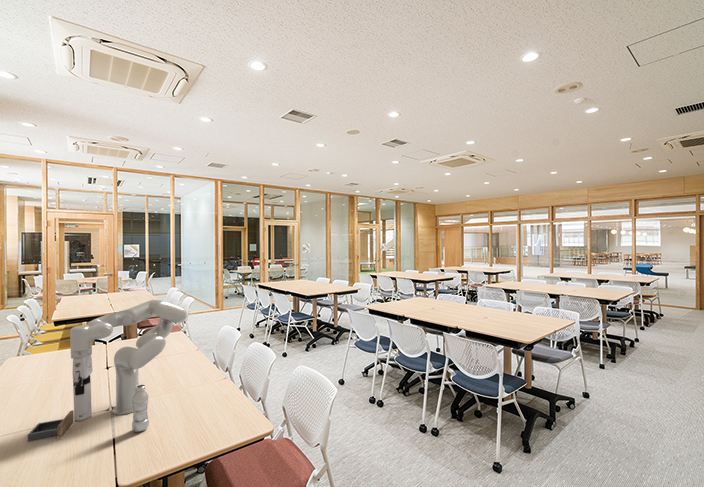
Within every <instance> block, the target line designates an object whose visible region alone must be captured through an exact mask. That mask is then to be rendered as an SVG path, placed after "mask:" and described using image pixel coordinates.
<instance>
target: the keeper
mask: <svg viewBox="0 0 704 487" xmlns="http://www.w3.org/2000/svg"><path fill="white" fill-rule="evenodd" d="M63 419H64V418H60V419H56V420H50V421H45V422H39V423H37V424H36V425H35V426H34V427H33V429H31V431H29V432H28V434H27V443H31V442H34V441H40V440H45V439H46V440H47V439H51V438H56V437H57V438H58V425H59V424H60V423H61V421H62V420H63Z"/></svg>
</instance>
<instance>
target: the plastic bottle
mask: <svg viewBox="0 0 704 487" xmlns="http://www.w3.org/2000/svg"><path fill="white" fill-rule="evenodd" d="M135 392H136V393H135V394H134V396H133V397H132V406H133V412H132V413H133V415H132V423H131V429H132V431H133V432H134V433H140V432H144V431H145V430H147V429H148V428H149V425H150V419H149V415H148V403H149V394H148V392H146V385H145V384H138V386H136V388H135Z"/></svg>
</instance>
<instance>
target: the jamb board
mask: <svg viewBox="0 0 704 487" xmlns="http://www.w3.org/2000/svg"><path fill="white" fill-rule="evenodd" d="M62 419H63V420H62V421H61V423H60V424H59V425H58V437H57V441H59V440H62V439H63V437H64V436H65V435H66V434H67V433H68V431H69V429H71V427H72V426H73V425H74V422H75V421H74V409H73V410H70V411H69V412H67V414H66V415H65V416H64V418H62Z"/></svg>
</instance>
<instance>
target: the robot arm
mask: <svg viewBox="0 0 704 487" xmlns="http://www.w3.org/2000/svg"><path fill="white" fill-rule="evenodd" d="M154 316H155V317H159V320H158V323H157V324H156V325H155V326H154V327H152V328H151V329H149V330H148V331H147V332H146V333H144V334H142V335H141V336H140V337H138V338H137V340H136V343H135V347H132V346H123V347H121V348H119V349H117V351H116V352H115V354H114V356H113V363H114V369H115V406H114V407H113V408H112V410H111V411H112V414H113V415H116V416H121V415H122V416H123V415H127V414H132V413H133V406H132V397H133V396H134V394H135V393H136V392H135V388H136V386H138V385H139V369H142V368H143V367H145V366H146V365H147V364H149V363H150V362H151V361H152V360H153V359H155V358H156V357H157V356H159V354H161V353H162V352H163V350H164V349H165V347H166V343H167V342H166V338H167V337H168V336H169V335H170V334H171V332H172V329H173V325H174V323H175V324H181V323H182V322H185V320H186V319H187V316H188V313H187V311H186V309H185V308H183V307H181V306H178V305H176V304H173V303H170V302H167V301H166V300H159V299H151V300H148V301H147V300H146V301H145V302H143V303H140V304H138V305H135V306H133V307H130V308H127V309H122V310H120V311H115V312H111V313H108V314H105V315H102V316H99V317H97V318H94V319H92V320H90V321H89V322H87V324H81V325H76V326H73V327H71V328H70V331H69V337H70V338H69V339H70V340H69V342H70V343H69V345H70V359H72V379H73V380H74V383H75V395H82V394H84V385H83V381H84V379H86V378H87V377H88V376H89V375H90V376H91V374H92V373H93V360H92V354H93V349H92V345H93V344H92V343H93V342H92V341H93V340H101V339H105V338H107V337H109V336H110V335H112V333H113V331H114V328H115V327H120V326H121V327H122V326H123V327H125V326H131V325H135V324H138V323H140V322H142V321H144V320H147V319H149V318H152V317H154ZM81 377H82V379H79V378H81ZM73 380H72V381H73ZM79 380H81V382H79Z"/></svg>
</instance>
